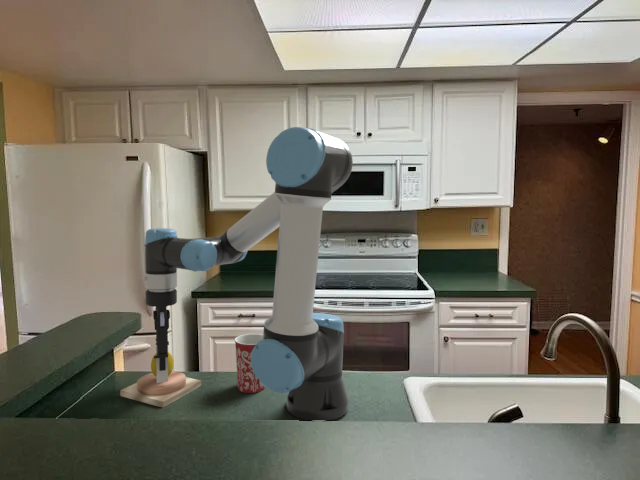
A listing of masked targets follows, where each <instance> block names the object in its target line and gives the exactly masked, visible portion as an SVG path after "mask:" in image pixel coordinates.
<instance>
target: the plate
mask: <svg viewBox="0 0 640 480" xmlns="http://www.w3.org/2000/svg"><path fill="white" fill-rule="evenodd" d="M201 386H202V380H201V379H196V378H191V377H187V376H186V374H185V373H183V372H180V371H176V370H172V372H171V374H170V375H169V376H168V382H161V383H157V377H156V376H154V375H153V373H152V372H151V373H147V374H145V375H143V376H141V377H140V378H138V379H137V381H136V383H133V384H131V385H128V386H126V387H124V388H122V389H120V392H119V396H120V397H121V398H127V399H130V400H134V401H137V402H141V403H143V404H144V403H145V404H148V405H152V406H155V407H160V408H163V409H164V408H165V407H167V406H169V405H171V404H172V403H174V402H176V401H177V400H179V399H181V398H182V397H184V396H187V394H189V393H191V392H193V391H195V390H196V389H198V388H200V387H201Z"/></svg>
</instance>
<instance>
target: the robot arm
mask: <svg viewBox="0 0 640 480" xmlns="http://www.w3.org/2000/svg"><path fill="white" fill-rule="evenodd" d="M265 162H266V163H265V164H266V169H267V172H268V174H269V175H270V176H271V177H270V178H271V180H272V181H274V182H275V185H274V187H275V188H274V192H272V193H271V194H270V195H269V196H268V197H266V199H264V200H262V201H261V202H260V203H258V205H256V206H255V207H253V209H251V210H250V211H249V212H248V213H246V214H245V215H244V216H243V217H241V218H240V219H239V220H238V221H237V222H235V223H234V224H233V225H232V226H231V227H230V228H228V229H227V230H226V231H224V232H223V233H221V234H220V235H218V236H209V237H198V238H183V237H182V238H181V237H178V234H177V230H176V229H174V228H162V227H161V228H159V227H158V228H149V229H147V230H146V231H145V236H144V237H145V238H144V239H145V240H144V256H145V258H144V259H145V260H144V261H145V270H144V271H145V276H143V277H142V280H143V281H145V289H146V291H145V305H147V306H148V307H155V309H154V310H153V312H152V313H153V314H152V317H153V320H154V321H153V323H154V330H155V334H156V335H155V341H156V342H155V345H156V347H155V354H156V353H157V356H154V355H153V356H154V359H155V358H156V366H157V383H161V382H168V352H169V350H168V349H169V347H168V346H170V341H169V339H168V338H169V336H168V334H169V332H168V330H169V329H170V317H171V313H170V309H167V308H168V306H170V307H171V306H174V305H175V304H177V303H178V302H177V301H178V290H177V289H176V288H177V287H178V269H180V270H186V271H187V270H188V271H191V272H206V271H207V272H208V271H209V270H211V268H213V267H215V266H223V265H230V264H235V263H238V262H241V261H243V260H244V259H245V258H246V256H247V254H248V251H249V250H250V249H252V248H253V247H254V246H256V245H257V244H258V243H259V242H261V241H262V240H263V239H265V238H266V237H267V236H269V235H270V234H272V233H273V232H274V231H276V230H277V229H279V230H278V241H277V250H276V251H277V252H276V261H275V262H276V263H275V274H274V275H275V277H274V289H273V298H272V299H273V301H272V311H271V316H269V317H268V318H267V319H266V320H264V323H263V333H262V335H263V340H261V341H259V342H258V343H257V345H256V346H255V347H254V348H253V350H252V353H251V365H252V369H253V372H254V374H255V376H256V377H257V378H258V379H259V381H260V383H261V384H262V385H263V386H265V389H267V390H269V391H272V392H274V393H278V394H285V393H287V396H286V410H287V411H288V412H289V414H291V415H292V416H293V417H295V418H297V419H299V420H303V421H307V420H331V421H334V420H338V419H340V418H342V417H343V415H344V416H345V415H346V414H347V413H348V411H349V402H350V401H349V396H348V393H347V389H346V387H345V383H344V380H343V361H344V360H343V358H344V337H345V330H344V320H343V319H342V317H339V316H338V315H334V314H329V313H322V312H314V304H315V294H316V283H317V274H318V273H317V272H318V265H319V264H318V263H319V262H318V261H319V252H320V251H319V250H320V242H321V231H322V222H323V208H324V206H325V205H326V204H328V202H330V201H331V200H332V194H333V193H334V192H335V191H337V190H338V189H339V188H340V187H342V186H343V185H344V184H345V183H346V181H347V180H349V177H350V175H351V173H352V170H353V162H354V161H353V155H352V153H351V150H350V148H349V146H348V145H347V143H345V142H344V141H343V140H341V139H340V138H339V137H336V136H333V135H330V134H326V133H323V132H320V131H318V130H316V129H314V128H308V127H301V126H300V127H299V126H294V127H288V128H287V129H284V130H282V131H281V132H279V134H278V135H277V136H275V138H273V140H272V141H271V143H270V145H269V147H268V149H267V153H266V160H265ZM163 352H164V353H163Z"/></svg>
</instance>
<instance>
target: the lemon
mask: <svg viewBox="0 0 640 480" xmlns="http://www.w3.org/2000/svg"><path fill="white" fill-rule="evenodd" d="M163 353H164V352H163ZM154 356H157V353H156V352H155V354H154V355H153V357H152V358H151V362H150V369H151V373H153V375H154V376H156V377H157V366H156V358H155V359H154ZM174 362H175V361H174V358H173V355H172V354H171V353H170V352H169V351H168V376H169V375H170V374H171V372H172V371H174V367H175V366H174V365H175V364H174Z"/></svg>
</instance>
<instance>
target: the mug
mask: <svg viewBox="0 0 640 480" xmlns="http://www.w3.org/2000/svg"><path fill="white" fill-rule="evenodd" d="M261 340H263V334H260V333H246V334H240V335H239V336H236V337H235V338H234V343H235V356H236V358H235V362H236V377H237V389H238V391H240V392H242V393H245V394H255V393H258V392H261V391H263V390H264V389H266V387H265V386H263V385H262V384H261V383H260V381H259V379H258V378H257V377H256V376H255V374H254V372H253V369H252V365H251V353H252V350H253V348H254V347H255V346H256V345H257V343H258V342H259V341H261Z"/></svg>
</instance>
